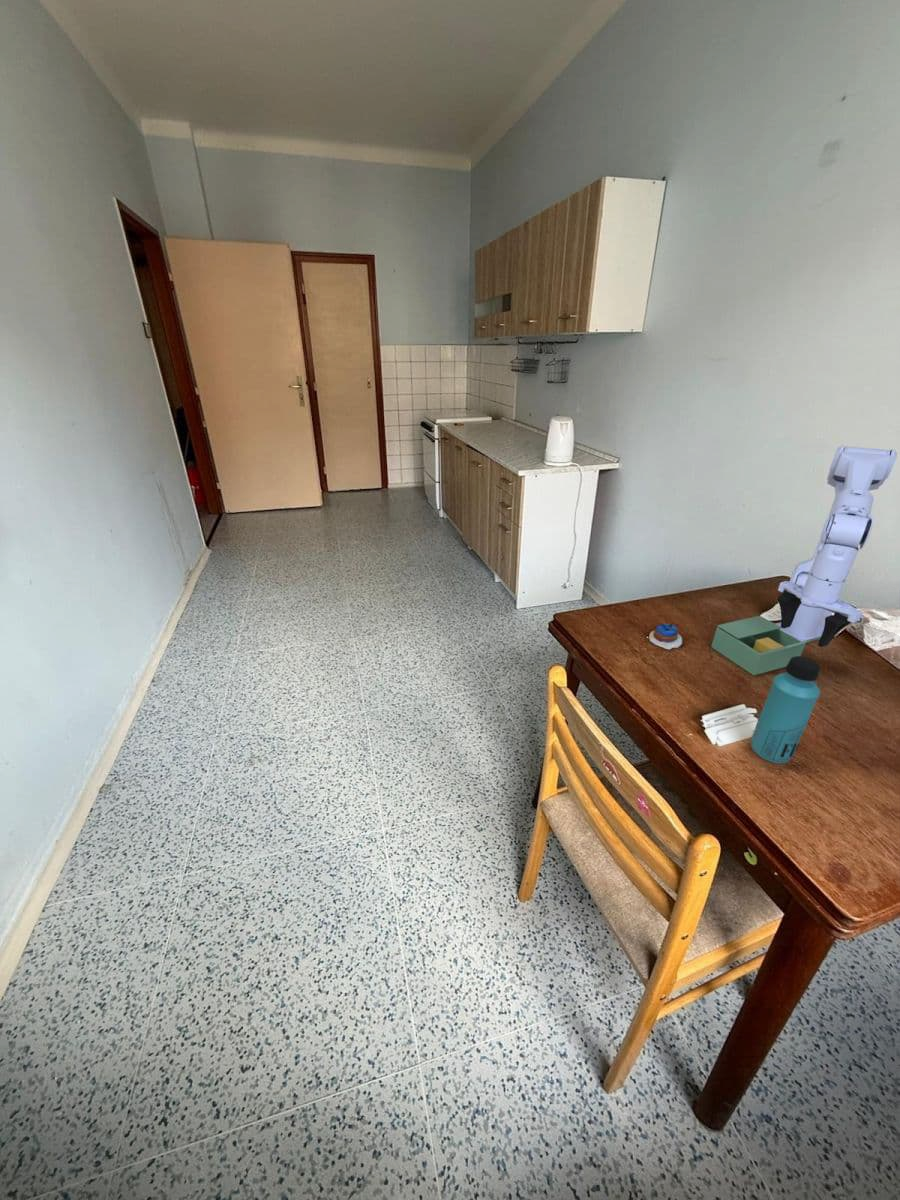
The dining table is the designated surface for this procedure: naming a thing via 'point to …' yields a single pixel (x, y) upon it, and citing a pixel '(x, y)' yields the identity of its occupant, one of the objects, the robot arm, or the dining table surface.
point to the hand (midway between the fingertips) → (803, 635)
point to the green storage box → (741, 639)
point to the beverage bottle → (786, 711)
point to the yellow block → (765, 645)
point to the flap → (791, 645)
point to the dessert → (666, 636)
